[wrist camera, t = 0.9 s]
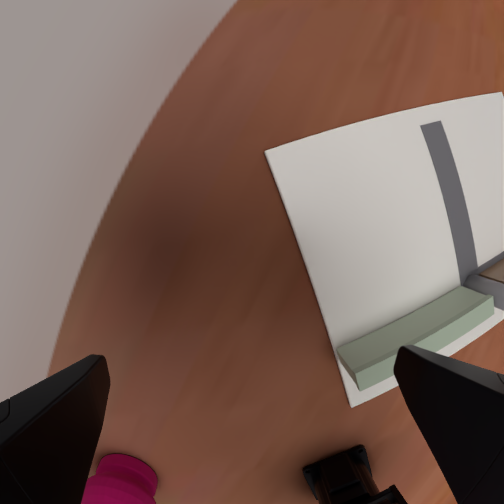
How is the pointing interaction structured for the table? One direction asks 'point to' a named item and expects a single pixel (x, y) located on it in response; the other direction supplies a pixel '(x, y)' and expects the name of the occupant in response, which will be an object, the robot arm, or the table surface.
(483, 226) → the card
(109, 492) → the pepper mill
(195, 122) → the table surface
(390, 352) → the hinged panel
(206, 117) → the table surface
